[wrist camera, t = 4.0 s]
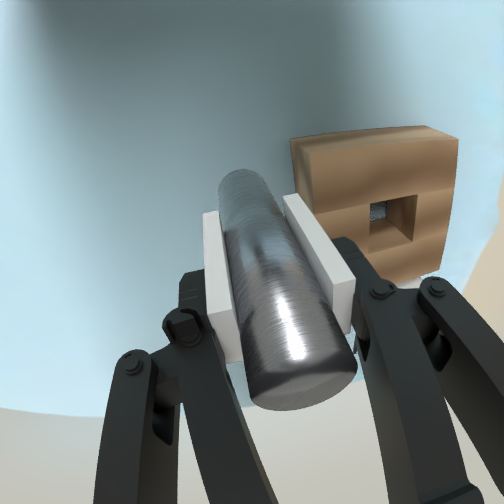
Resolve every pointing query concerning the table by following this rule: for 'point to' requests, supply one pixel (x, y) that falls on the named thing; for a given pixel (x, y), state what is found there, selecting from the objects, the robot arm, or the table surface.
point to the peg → (279, 303)
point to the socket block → (382, 193)
